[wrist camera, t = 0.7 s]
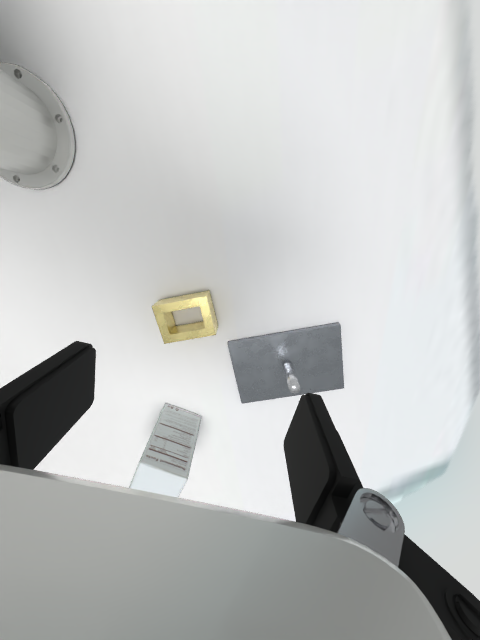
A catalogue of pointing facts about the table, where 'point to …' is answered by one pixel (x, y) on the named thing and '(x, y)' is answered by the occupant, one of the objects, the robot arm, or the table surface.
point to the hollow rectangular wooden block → (188, 330)
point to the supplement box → (168, 453)
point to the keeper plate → (288, 349)
